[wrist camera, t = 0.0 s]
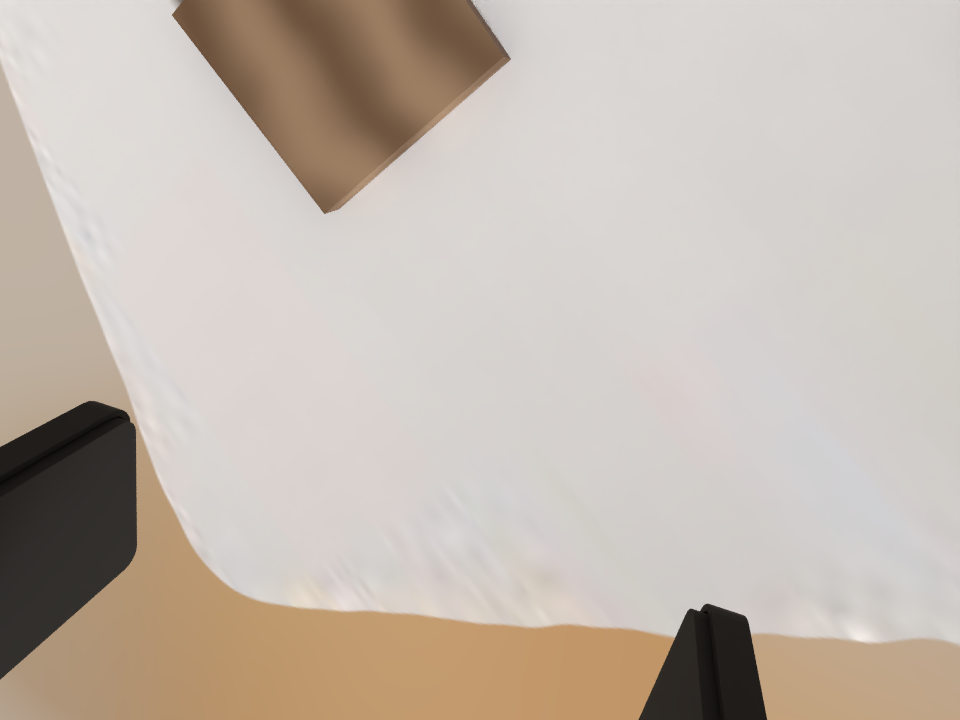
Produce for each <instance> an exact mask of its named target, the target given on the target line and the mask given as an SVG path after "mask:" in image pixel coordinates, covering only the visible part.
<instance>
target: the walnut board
mask: <svg viewBox="0 0 960 720" xmlns="http://www.w3.org/2000/svg"><path fill="white" fill-rule="evenodd" d="M172 16H173V17H174V18H175V20H176V21H177V22H178V24H179V25H180V26H181V28H182V29H183V30H184V31H185V33H186V34H187V35H188V37H189V38H190V39H191V41H192V42H193V43H194V44H195V46H196V47H197V48H198V50H199V51H200V52H201V54H202V55H203V56H204V57H205V59H206V60H207V61H208V63H209V64H210V65H211V67H212V68H213V69H214V71H215V72H216V73H217V74H218V76H219V77H220V78H221V80H222V81H223V82H224V84H225V85H226V86H227V87H228V89H229V90H230V91H231V93H232V94H233V95H234V97H235V98H236V99H237V100H238V102H239V103H240V104H241V106H242V107H243V108H244V110H245V111H246V112H247V113H248V115H249V116H250V117H251V119H252V120H253V121H254V123H255V124H256V125H257V127H258V128H259V129H260V130H261V132H262V133H263V134H264V136H265V137H266V138H267V140H268V141H269V142H270V143H271V145H272V146H273V147H274V149H275V150H276V151H277V153H278V154H279V155H280V156H281V158H282V159H283V160H284V162H285V163H286V164H287V166H288V167H289V168H290V169H291V171H292V172H293V173H294V175H295V176H296V177H297V179H298V180H299V181H300V183H301V184H302V185H303V186H304V188H305V189H306V190H307V192H308V193H309V194H310V196H311V197H312V198H313V199H314V201H315V202H316V203H317V205H318V206H319V207H320V209H321V210H322V211H323V212H324V214H326V213H329V212H332V211H335V210H338V209H339V208H341V207H342V206H343V205H344V204H345V203H346V202H347V201H349V200H350V199H351V198H352V197H353V196H354V195H355V194H357V193H358V192H359V191H360V190H361V189H362V188H364V187H365V186H366V185H367V184H368V183H369V182H370V181H372V180H373V179H374V178H375V177H376V176H377V175H378V174H380V173H381V172H382V171H383V170H384V169H385V168H386V167H388V166H389V165H390V164H391V163H392V162H393V161H395V160H396V159H397V158H398V157H399V156H400V155H401V154H403V153H404V152H405V151H406V150H407V149H408V148H409V147H411V146H412V145H413V144H414V143H415V142H416V141H417V140H419V139H420V138H421V137H422V136H423V135H424V134H426V133H427V132H428V131H429V130H430V129H431V128H432V127H434V126H435V125H436V124H437V123H438V122H439V121H440V120H442V119H443V118H444V117H445V116H446V115H447V114H448V113H450V112H451V111H452V110H453V109H454V108H455V107H457V106H458V105H459V104H460V103H461V102H462V101H463V100H465V99H466V98H467V97H468V96H469V95H470V94H471V93H473V92H474V91H475V90H476V89H477V88H478V87H480V86H481V85H482V84H483V83H484V82H485V81H486V80H488V79H489V78H490V77H491V76H492V75H493V74H494V73H496V72H497V71H498V70H499V69H500V68H501V67H502V66H504V65H505V64H506V63H507V62H508V61H509V60H511V59H510V57H509V56H508V54H507V53H506V51H505V50H504V48H503V47H502V45H501V44H500V43H499V41H498V40H497V38H496V37H495V35H494V34H493V32H492V31H491V29H490V28H489V26H488V25H487V24H486V22H485V21H484V19H483V18H482V16H481V15H480V13H479V12H478V10H477V9H476V7H475V6H474V5H473V3H472V2H471V0H184V1H183V2H182V3H181V4H180V6H179V7H178V8H177V9H176V10H175V12H174V13H173V14H172Z"/></svg>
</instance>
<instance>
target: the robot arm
mask: <svg viewBox="0 0 960 720" xmlns="http://www.w3.org/2000/svg"><path fill="white" fill-rule="evenodd" d="M136 515H137V512H136V430H135V426H134V424H133V423H131V422H130V417H129V416H128V414H127V413H126V412H125V411H123V410H120V409H117V408H114V407H111V406H108V405H105V404H102V403H99V402H96V401H88V402H86V403H83V404H81V405H79V406H77V407H75V408H74V409H72V410H70V411H68V412H66V413H64V414H62V415H60V416H58V417H56V418H54V419H53V420H51V421H49V422H47V423H45V424H43V425H41V426H39V427H38V428H35V429H34V430H32V431H30V432H28V433H26V434H24V435H22V436H20V437H18V438H17V439H15V440H13V441H11V442H9V443H7V444H5V445H3V446H1V447H0V679H1V678H2V677H4V676H5V675H6V674H7V673H8V672H9V671H10V670H12V668H14V667H15V666H16V665H17V664H18V663H19V662H21V661H22V660H23V659H24V658H25V657H26V656H27V655H28V654H30V653H31V652H32V651H33V650H34V649H35V648H36V647H37V646H39V645H40V644H41V643H42V642H43V641H44V640H45V639H47V638H48V637H49V636H50V635H51V634H52V633H53V632H55V631H56V630H57V629H58V628H59V627H60V626H61V625H62V624H63V623H65V622H66V621H67V620H68V619H69V618H70V617H71V616H73V615H74V614H75V613H76V612H77V611H78V610H79V609H81V608H82V607H83V606H84V605H85V604H86V603H87V602H88V601H90V600H91V599H92V598H93V597H94V596H95V595H96V594H97V593H98V592H100V591H101V590H102V589H103V588H104V587H105V586H106V585H108V584H109V583H110V582H111V581H112V580H113V579H114V578H116V577H117V576H118V575H119V574H120V573H121V572H122V571H124V570H125V569H126V567H127V566H128V565H129V564H130V562H131V561H132V559H133V557H134V555H135V552H136V548H137V516H136ZM639 720H767V717H766V712H765V706H764V701H763V696H762V691H761V686H760V681H759V675H758V670H757V665H756V660H755V654H754V649H753V644H752V638H751V633H750V628H749V623H748V620H747V618H746V617H745V616H744V615H741V614H738V613H735V612H732V611H729V610H726V609H723V608H720V607H717V606H714V605H710V604H705V605H704V606H703V607H702V609H701V611H697V610H694V609H689V610H688V611H687V613H686V615H685V617H684V620H683V622H682V624H681V626H680V628H679V631H678V633H677V635H676V637H675V640H674V642H673V644H672V646H671V649H670V651H669V653H668V656H667V658H666V660H665V662H664V665H663V666H662V669H661V671H660V673H659V675H658V678H657V680H656V682H655V684H654V687H653V689H652V691H651V693H650V696H649V698H648V700H647V702H646V704H645V707H644V709H643V712H642V713H641V716H640V718H639Z"/></svg>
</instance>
